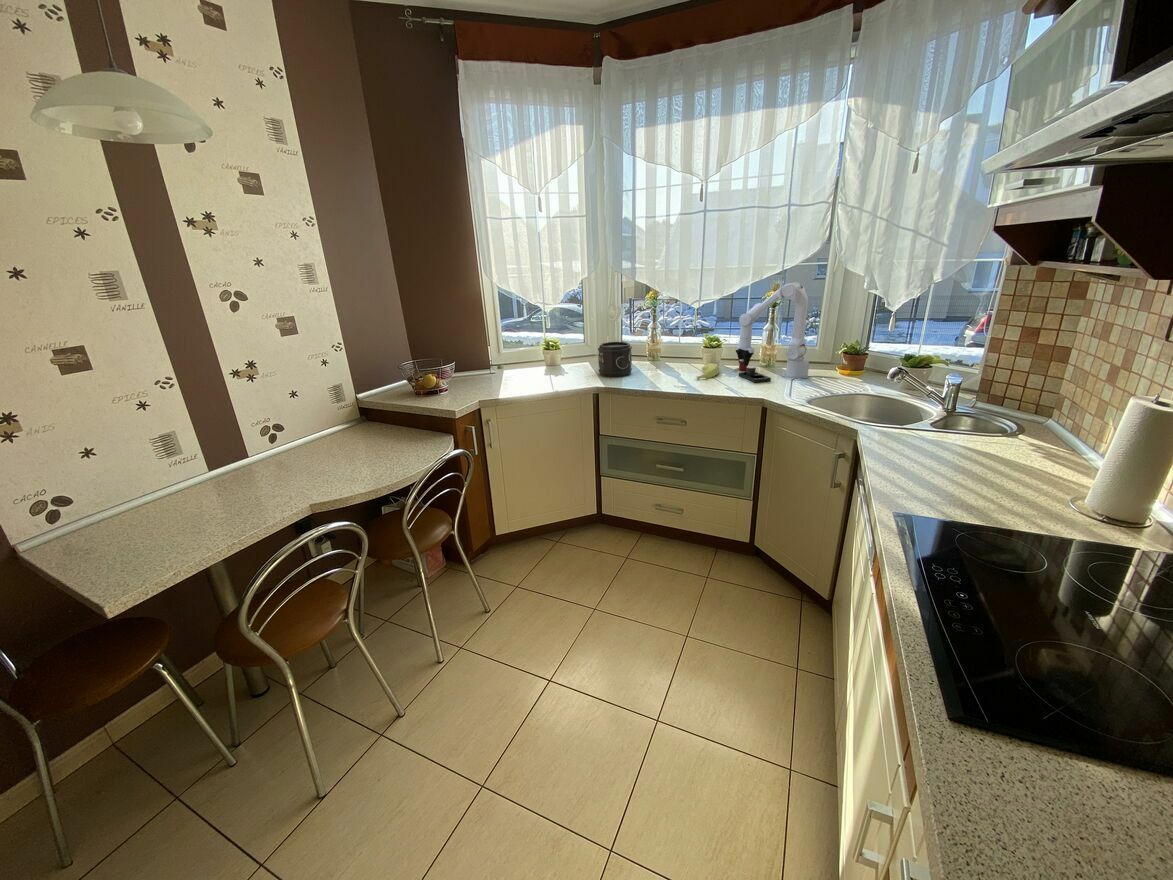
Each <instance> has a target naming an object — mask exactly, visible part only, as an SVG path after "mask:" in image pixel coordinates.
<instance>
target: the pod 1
mask: <svg viewBox="0 0 1173 880" xmlns="http://www.w3.org/2000/svg"><path fill="white" fill-rule="evenodd" d="M739 361H740V363H739ZM747 366H748V365H747ZM747 366H744V362H743V359H740V360H738V368H739V370H741V371H745V370H747Z"/></svg>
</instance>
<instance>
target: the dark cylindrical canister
mask: <svg viewBox="0 0 1173 880" xmlns="http://www.w3.org/2000/svg"><path fill="white" fill-rule="evenodd" d="M632 349H633V347H632V345H631V344H630V343H629V342H626V341H607V342H602V343H600V345H599V347H598V348H597V351H598V354H597V356H598V361H597V362H598V368H599V369H598V372H599V373H600V375H601V376H602V377H604V378H605V377H606V378H623V377H627V376H629V375H630V374H631V371H633V367H632V362H633V359H632V358H633V355H632Z"/></svg>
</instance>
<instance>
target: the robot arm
mask: <svg viewBox="0 0 1173 880" xmlns="http://www.w3.org/2000/svg"><path fill="white" fill-rule="evenodd" d="M805 290H806V289H805V286H804V285H802V283H800V282H798V281H795V282H794V281H793V282H791V283H785V284H784V285H782V286H781V287H779V288H778V289H776V291H775V292H773V293H772V294H771V295H769V297H767V298H766V299H765V300H764V301H763V302H758V303H754V305H753V307H752V308H750V309H747V310H746V313H742V314H741V315H740V316H739V318H738V323H739V324H740V329H739V341H738V343H737V344H735V349H736V350H735V353H736V355H737V360H738V364H739V363H740V361H739V360H740V359H743V362H744V366H749V364H750V362H751V359H752V357H753V355H754V354H755V348H753V347H752V337H753V336H752V335H753V325H754V323H755V322H756V320H758V319H759V318H761V317H762V316H763V315H764V314H765V313H766V312H767V309H768V308H769V307H771V306H772V305H773V304H776V302H777V301H779V300H780V299H783V298H786V299H787V300H790V301H791V302H792V303H793V304H794V305H795V308H794V317H793V325H792V335H791V340H790V342H789V344H788V348H787V350H786V351H785V355H786V357H787V360H786V368H785V369H786V371H785V374H782V375H781V376H782V377H785V378H788V379H790V380H794V379H801V380H802V379H809V377H810V376H808V375H809V369H810V368H809V367H810V361H809V359H807V358H805V355H806V354H807V351H808V349H807V346H806V340H805V334H806V333H805V332H806V325H807V316H808V308H809V301H810V300H809V297H808V294H807V293H806V291H805Z"/></svg>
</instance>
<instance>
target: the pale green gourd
mask: <svg viewBox="0 0 1173 880" xmlns="http://www.w3.org/2000/svg"><path fill="white" fill-rule="evenodd" d="M719 369H720V368H719V365H718V364H717V363H712V362H711V363H706V364H704V365H703V366H702V368H701V370H702V371H704V372H703V373H702V374H701V375H699V376H697V375H696V381H698V380H700V379H703V378H704V379H711V378H714V377H715V376H716V375H718V374H719V373H720V370H719Z"/></svg>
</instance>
